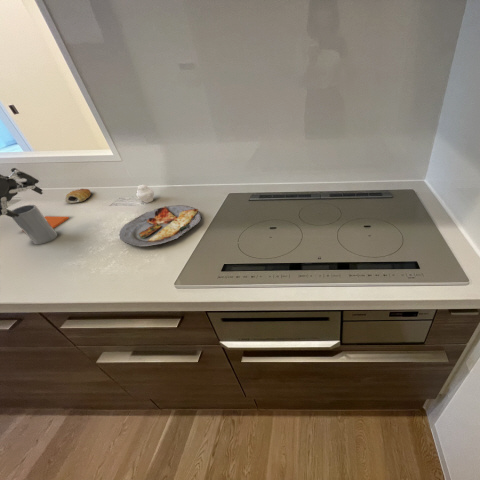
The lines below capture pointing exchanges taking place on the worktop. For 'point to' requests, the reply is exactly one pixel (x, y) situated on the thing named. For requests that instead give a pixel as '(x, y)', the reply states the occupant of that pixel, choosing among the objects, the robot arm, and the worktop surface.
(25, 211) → the grey cylindrical cup
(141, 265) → the worktop surface
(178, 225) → the food plate
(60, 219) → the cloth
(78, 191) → the pastry
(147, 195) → the white lumpy ball
